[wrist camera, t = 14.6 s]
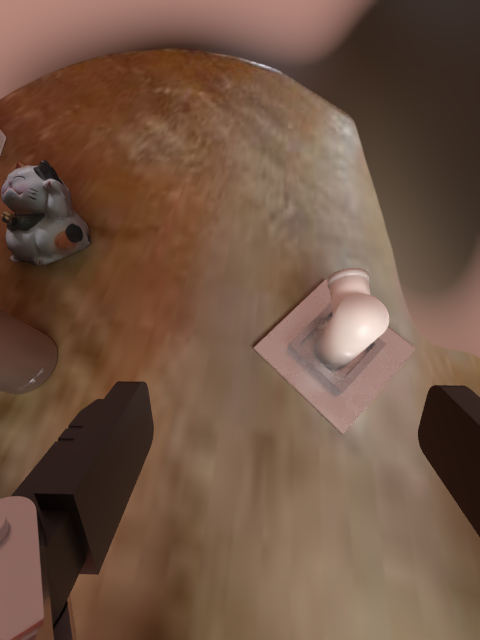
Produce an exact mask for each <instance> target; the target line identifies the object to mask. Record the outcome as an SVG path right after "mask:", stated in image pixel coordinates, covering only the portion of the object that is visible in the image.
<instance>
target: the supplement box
mask: <svg viewBox="0 0 480 640" xmlns="http://www.w3.org/2000/svg"><path fill="white" fill-rule="evenodd" d="M5 141H6V136H5V135H4V134H3V133H2V131H1V130H0V155H1V152H2V149H3V147H4V144H5Z"/></svg>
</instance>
